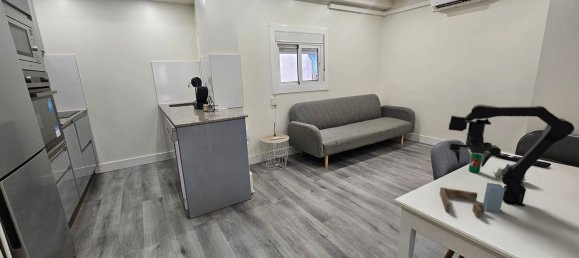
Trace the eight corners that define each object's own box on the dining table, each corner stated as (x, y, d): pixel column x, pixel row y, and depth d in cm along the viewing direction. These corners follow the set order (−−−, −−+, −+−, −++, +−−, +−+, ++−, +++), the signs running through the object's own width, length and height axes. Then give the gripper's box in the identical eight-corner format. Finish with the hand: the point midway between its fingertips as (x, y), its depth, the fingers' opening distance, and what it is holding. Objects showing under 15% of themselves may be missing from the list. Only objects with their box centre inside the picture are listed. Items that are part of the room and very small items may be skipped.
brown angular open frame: (475, 199, 106) (476, 192, 105) (487, 219, 92) (488, 211, 91) (439, 193, 112) (440, 187, 111) (445, 211, 98) (446, 204, 97)
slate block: (495, 206, 100) (500, 184, 98) (499, 211, 97) (504, 189, 94) (483, 204, 102) (487, 182, 100) (486, 209, 98) (491, 187, 96)
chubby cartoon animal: (496, 179, 131) (492, 164, 131) (526, 177, 122) (521, 161, 123) (495, 183, 126) (490, 168, 126) (526, 182, 117) (521, 165, 118)
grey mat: (497, 206, 101) (498, 205, 101) (504, 214, 95) (504, 213, 95) (479, 202, 104) (479, 202, 104) (483, 210, 98) (484, 210, 98)
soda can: (481, 173, 132) (485, 153, 130) (471, 173, 133) (474, 152, 130) (476, 170, 137) (480, 150, 134) (466, 169, 138) (470, 149, 135)
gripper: (454, 135, 104) (449, 168, 108) (509, 139, 97) (501, 175, 100) (449, 129, 114) (445, 160, 118) (499, 133, 107) (492, 165, 110)
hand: (469, 165), depth 111 cm, fingers open, 9 cm apart
